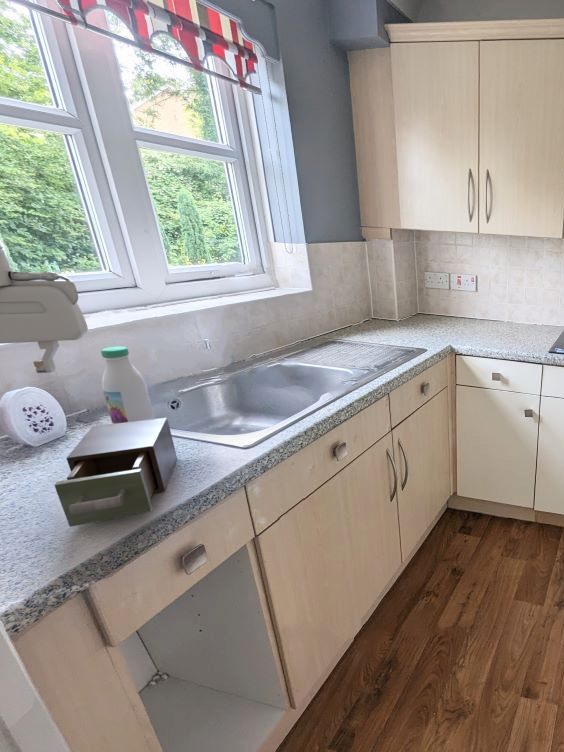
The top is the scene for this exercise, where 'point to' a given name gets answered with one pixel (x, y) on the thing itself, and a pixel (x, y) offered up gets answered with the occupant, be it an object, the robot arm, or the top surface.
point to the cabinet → (131, 445)
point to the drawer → (107, 488)
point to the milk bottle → (124, 388)
